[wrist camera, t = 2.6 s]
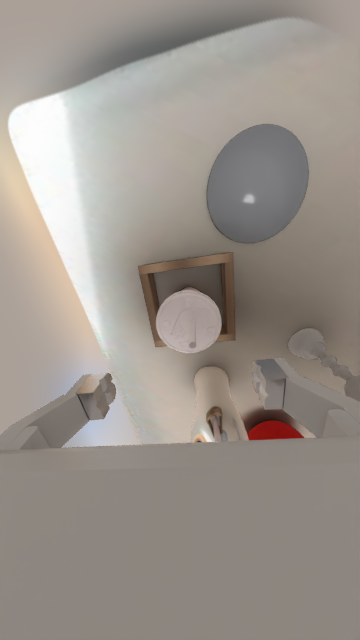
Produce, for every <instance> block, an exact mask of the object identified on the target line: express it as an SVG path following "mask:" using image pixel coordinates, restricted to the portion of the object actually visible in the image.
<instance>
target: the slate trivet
mask: <svg viewBox="0 0 360 640" xmlns="http://www.w3.org/2000/svg"><path fill="white" fill-rule="evenodd" d="M308 176H309V169H308V161H307V156H306V153H305V150H304V148H303V146H302V144H301V143H300V141H299V140H298V139H297V137H296V136H295V135H294V134H293V133H292V132H290V131H289V130H287V129H286V128H283V127H281V126H278V125H273V124H262V125H256V126H253V127H250V128H248V129H246V130H244V131H242V132H240V133H239V134H237V135H236V136H235V137H234V138H233V139H231V140H230V141H229V142H228V143H227V145H226V146H225V147H224V148H223V150H222V151H221V152H220V154H219V155H218V157H217V159H216V161H215V163H214V165H213V168H212V170H211V174H210V177H209V182H208V188H207V204H208V209H209V213H210V216H211V219H212V221H213V223H214V224H215V226H216V227H217V229H218V230H219V231H220V232H221V233H222V234H223V235H225V236H226V237H227V238H229V239H231V240H234V241H236V242H241V243H255V242H259V241H263V240H266V239H268V238H270V237H272V236H274V235H275V234H277V233H278V232H280V231H281V230H282V229H283V228H285V227H286V226H287V225H288V224H289V223H290V221H291V220H292V219H293V218H294V216H295V215H296V213H297V212H298V210H299V208H300V206H301V204H302V202H303V199H304V197H305V193H306V190H307V185H308Z"/></svg>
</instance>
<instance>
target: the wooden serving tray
mask: <svg viewBox="0 0 360 640" xmlns="http://www.w3.org/2000/svg"><path fill="white" fill-rule="evenodd" d="M220 263H221V276H222V296H223V316H224V326H221V331H220V334H219V336H218V338H217V340H216V341H215V342H221V341H232V340H235V309H234V269H233V253H222V254H216V255H209V256H202V257H195V258H188V259H181V260H175V261H168V262H161V263H154V264H147V265H142V266H138V270H139V274H140V279H141V283H142V288H143V293H144V297H145V302H146V306H147V311H148V316H149V320H150V325H151V329H152V334H153V338H154V343H155V347H163V346H167V345H166V344H165V343H164V342H163V341H162V340H161V338H160V337H159V335H158V332H157V329H156V317H157V313H158V310H159V302H158V297H157V292H156V287H155V281H154V276H153V273H155V272H162V271H169V270H177V269H184V268H191V267H198V266H205V265H212V264H220Z"/></svg>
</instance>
